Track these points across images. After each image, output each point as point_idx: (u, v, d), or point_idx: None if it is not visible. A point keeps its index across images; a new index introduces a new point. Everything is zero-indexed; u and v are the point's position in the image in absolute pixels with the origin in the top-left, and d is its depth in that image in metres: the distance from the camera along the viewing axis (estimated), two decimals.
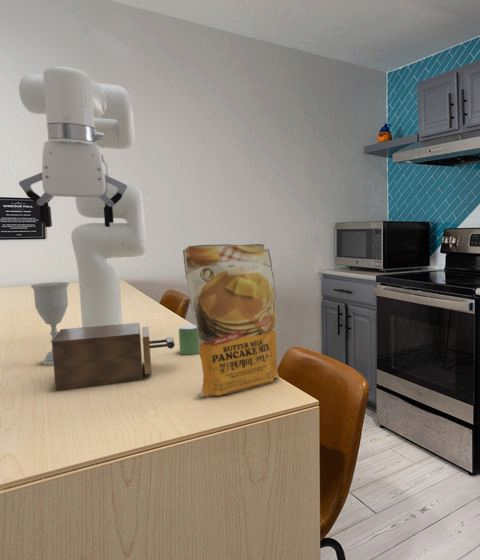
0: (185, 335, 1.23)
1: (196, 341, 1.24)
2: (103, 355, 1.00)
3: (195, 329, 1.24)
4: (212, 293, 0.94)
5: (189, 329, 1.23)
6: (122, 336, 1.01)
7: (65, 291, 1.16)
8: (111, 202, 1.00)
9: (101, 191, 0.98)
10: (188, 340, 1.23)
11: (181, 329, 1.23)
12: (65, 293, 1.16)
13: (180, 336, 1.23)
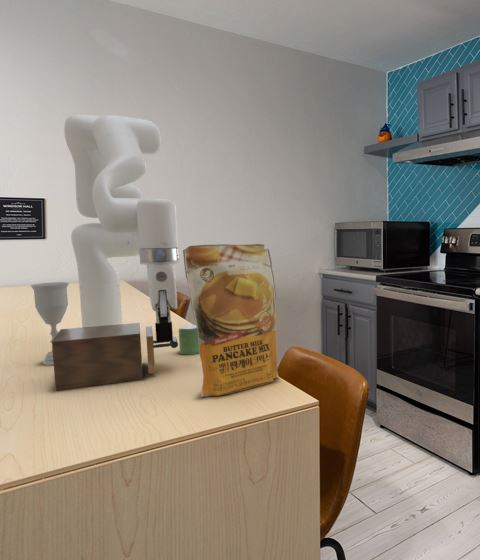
0: (185, 335, 1.23)
1: (196, 341, 1.24)
2: (103, 355, 1.00)
3: (195, 329, 1.24)
4: (212, 293, 0.94)
5: (189, 329, 1.23)
6: (122, 336, 1.01)
7: (65, 291, 1.16)
8: (157, 321, 1.08)
9: (153, 307, 1.05)
10: (188, 340, 1.23)
11: (181, 329, 1.23)
12: (65, 293, 1.16)
13: (180, 336, 1.23)
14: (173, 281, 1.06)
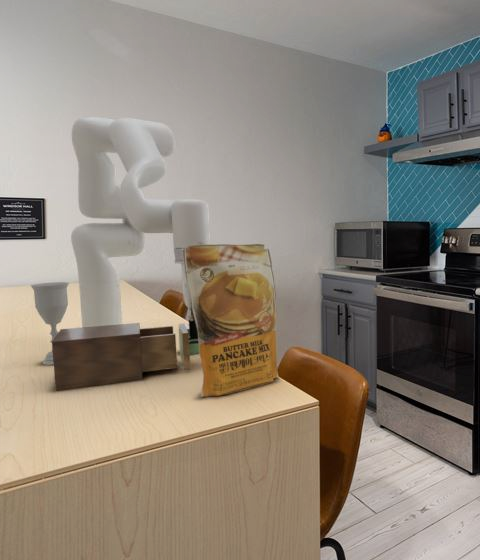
0: None
1: None
2: (103, 355, 1.00)
3: None
4: (212, 293, 0.94)
5: None
6: (122, 336, 1.01)
7: (65, 291, 1.16)
8: None
9: (188, 304, 1.08)
10: None
11: None
12: (65, 293, 1.16)
13: None
14: None
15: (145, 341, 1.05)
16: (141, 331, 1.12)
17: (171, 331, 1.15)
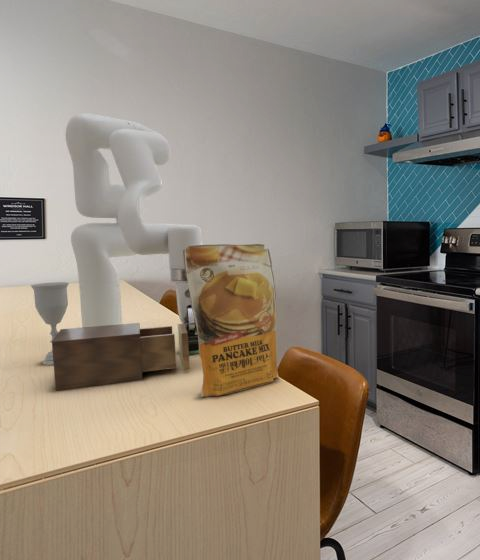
0: None
1: None
2: (103, 355, 1.00)
3: None
4: (212, 293, 0.94)
5: None
6: (122, 336, 1.01)
7: (65, 291, 1.16)
8: None
9: (182, 320, 1.20)
10: None
11: None
12: (65, 293, 1.16)
13: None
14: None
15: (144, 341, 1.05)
16: (140, 331, 1.12)
17: (170, 332, 1.15)
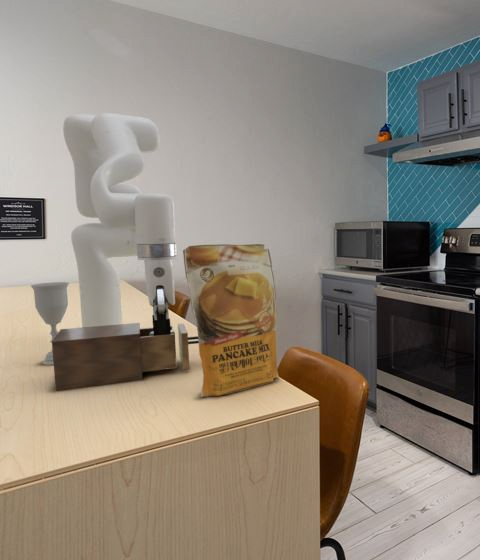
0: None
1: None
2: (103, 355, 1.00)
3: None
4: (212, 293, 0.94)
5: None
6: (122, 336, 1.01)
7: (65, 291, 1.16)
8: None
9: (151, 302, 1.05)
10: None
11: (152, 334, 1.09)
12: (65, 293, 1.16)
13: None
14: (171, 277, 1.06)
15: (144, 341, 1.05)
16: (140, 331, 1.12)
17: None
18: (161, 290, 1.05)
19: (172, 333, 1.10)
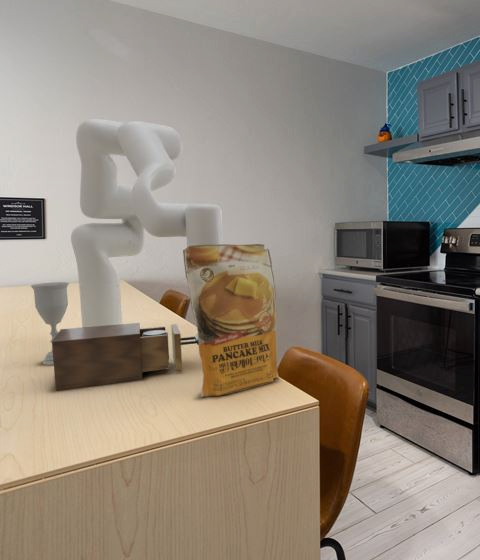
0: None
1: None
2: (103, 355, 1.00)
3: None
4: (212, 293, 0.94)
5: (153, 335, 1.08)
6: (122, 336, 1.01)
7: (65, 291, 1.16)
8: None
9: None
10: None
11: (144, 335, 1.08)
12: (65, 293, 1.16)
13: None
14: None
15: None
16: None
17: None
18: None
19: (165, 334, 1.10)
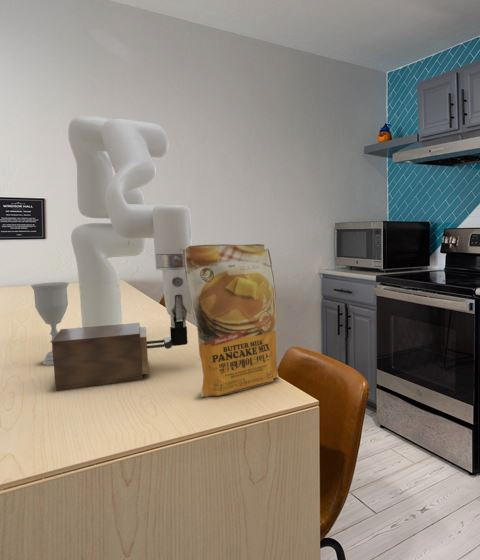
0: None
1: None
2: (103, 355, 1.00)
3: None
4: (212, 293, 0.94)
5: None
6: (122, 336, 1.01)
7: (65, 291, 1.16)
8: None
9: (169, 311, 1.07)
10: None
11: None
12: (65, 293, 1.16)
13: None
14: None
15: None
16: None
17: None
18: (180, 302, 1.08)
19: None
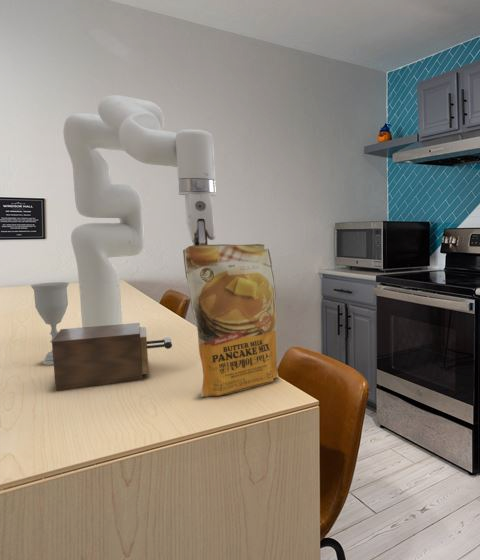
0: None
1: None
2: (103, 355, 1.00)
3: None
4: (212, 293, 0.94)
5: None
6: (122, 336, 1.01)
7: (65, 291, 1.16)
8: None
9: (192, 235, 1.07)
10: None
11: None
12: (65, 293, 1.16)
13: None
14: (211, 211, 1.08)
15: None
16: None
17: None
18: (202, 226, 1.08)
19: None
